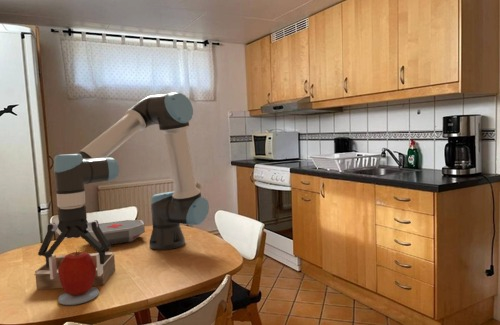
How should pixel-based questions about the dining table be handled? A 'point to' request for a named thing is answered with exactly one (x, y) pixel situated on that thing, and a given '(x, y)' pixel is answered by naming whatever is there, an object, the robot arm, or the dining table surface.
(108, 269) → the brown shallow open box
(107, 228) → the first aid kit
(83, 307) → the dining table surface
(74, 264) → the apple
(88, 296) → the plate
